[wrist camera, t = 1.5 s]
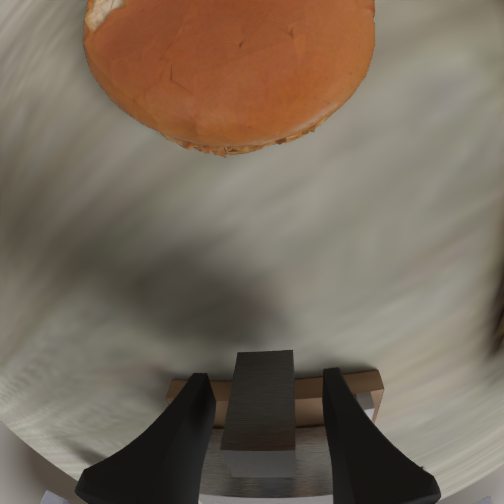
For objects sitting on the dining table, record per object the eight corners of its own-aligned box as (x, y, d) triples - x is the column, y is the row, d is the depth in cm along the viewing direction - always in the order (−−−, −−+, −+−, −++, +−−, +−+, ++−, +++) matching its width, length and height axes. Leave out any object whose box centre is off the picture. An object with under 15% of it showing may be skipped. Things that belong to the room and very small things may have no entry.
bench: (349, 473, 21) (354, 522, 16) (221, 477, 22) (213, 524, 17) (378, 370, 15) (401, 449, 10) (172, 379, 16) (144, 454, 11)
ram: (340, 447, 16) (346, 512, 11) (218, 450, 16) (206, 513, 12) (356, 343, 12) (382, 439, 7) (177, 352, 13) (142, 440, 8)
